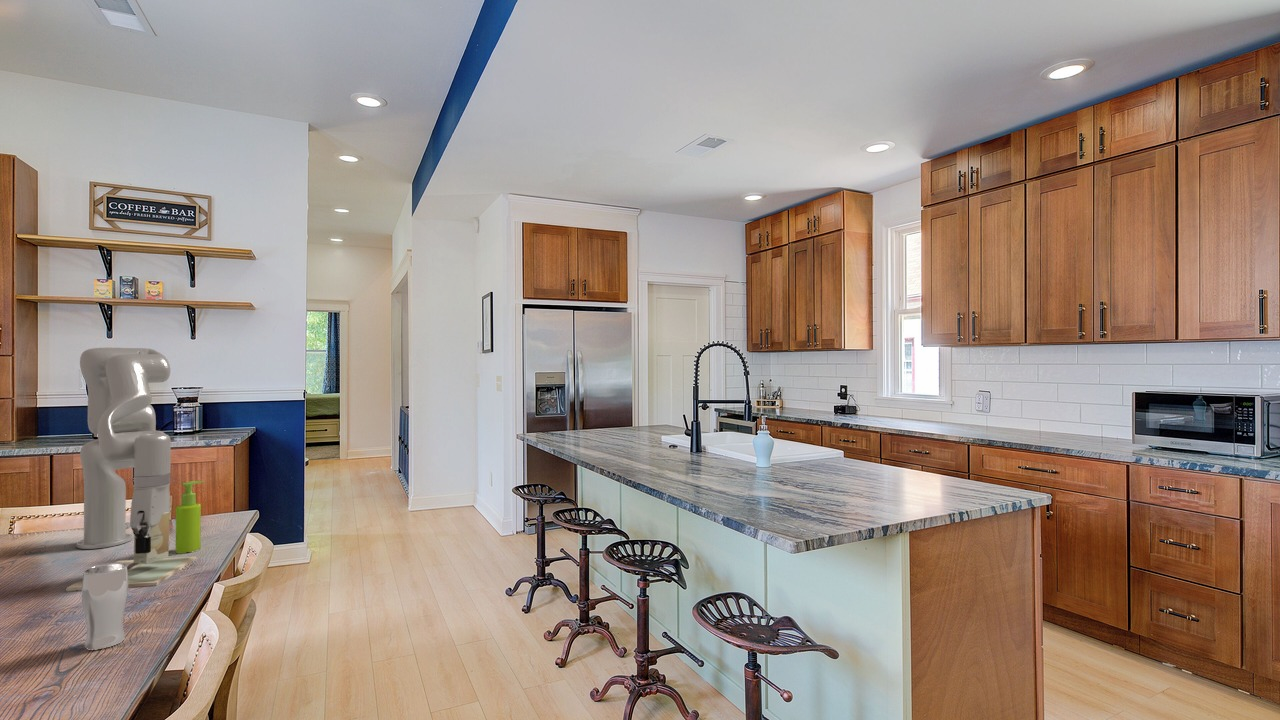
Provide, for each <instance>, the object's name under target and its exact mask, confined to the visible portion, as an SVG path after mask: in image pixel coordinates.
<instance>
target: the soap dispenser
mask: <svg viewBox="0 0 1280 720" xmlns="http://www.w3.org/2000/svg"><path fill="white" fill-rule="evenodd" d="M204 483H205V481H202V480H191V481H186V482H183V483H181V486H182V487H184V492H183V493H181V501H180V503H181V504H180V505H177V506H176V507H175V553H176V552H177V553H176V554H180V553H183V554H187V553H186V552H191V553H193V552H192V551H195V552H197V551H196V550H198V549H200V550H201V540H202V539H201V536H202V535H201V533H202V530H201V529H202V523H201V522H202V520H201V518H202V514H201V513H202V511H201V510H202V505H201V504H200V503H196V502H197V496H196V495H197V494H196V492H194V491H193V485H196V484H204ZM198 551H199V550H198Z"/></svg>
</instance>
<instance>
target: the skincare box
mask: <svg viewBox="0 0 1280 720" xmlns="http://www.w3.org/2000/svg"><path fill="white" fill-rule="evenodd" d="M147 524H148V522H145V523H143V524H142V525H147ZM143 530H144V531H146V528H145V529H143ZM149 537H151V552H149V553H140V554H136V553H135V538H134V537H133V538H134V539H133V541H134V542H133V560H134V563H142V564H148V563H151V562H154V561H158V560H161V559H164V558H169V552H170V549H169V548H170V547H169V544H170V543H169V542H170V516H169V512H165V513H164V514H162V517H161V519H160V522H159V523H158V524H156V525H154V526H152V527H151V531H150V534H149Z"/></svg>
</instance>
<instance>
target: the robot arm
mask: <svg viewBox="0 0 1280 720" xmlns="http://www.w3.org/2000/svg"><path fill="white" fill-rule="evenodd" d="M79 357H80V358H79V367H80V372H81V375H82V377H83V379H84V381H85V384H86V387H87V427H88V430H89V432H91V433H92V434H94V435H97V439H94V440H91V441H88V442H86V443H85V444H83V446H82V447H81V449H80V451H79V453H80V454H79V456H80V457H79V458H80V463H81V468H82V474H83V539H81V540H78V541H77V542H76V548H77V549H82V550H92V549H102V548H111V547H114V546H119V545H123V544H126V543H128V542H130V541H131V540H132V539H133V538H135V553H136V554H140V553H149V552H151V537H149V534H150V531H151V527H152V526H154V525H156V524H158V523H159V522H160V519H161V517H162V514H164V513H165V512H169V517H170V516H171V512H172V510H171V495H170V494H171V493H170V486H171V452H172V451H171V450H172V449H171V445H172V443H171V436H170V435H168V434H166V433H165V432H163V431H161V430H157V429H156V425H157V420H156V418H157V417H156V412H155V411H156V410H155V409H154V407H153V406H152V405H151V403H152V402H153V397H152V394H151V393H152V392H151V390H150V385H149V384H150V383H152V384H155V383H164V382H167V381H168V380H169V378H170V376H171V366H170V365H171V364H170V363H169V361H168V358H166V356H165V355H164V354H163V353H161V352H159V351H157V350H155V349H152V348H145V347H144V348H142V347H140V348H138V347H93V348H88V349H86V350H84V351H83V352H82V353H81V355H80V356H79ZM129 468H133V493H132V497H131V498H132V499H131V503H130V504H131V505H130V514H129V515H130V519H129V522H126V518H127V517H126V509H127V508H126V505H127V504H126V503H127V501H126V500H127V497H126V495H127V488H126V481H125V480H124V478H122V477H121V476H120V475H119V474H118V473H116V471H117V470H123V469H129ZM145 522H148V524H147V525H142V524H143V523H145ZM130 528H131V530H132V533H133V536H132V534H130V533H126V530H128V529H130ZM145 528H146V531H144V530H143V529H145Z"/></svg>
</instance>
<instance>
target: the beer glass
mask: <svg viewBox="0 0 1280 720" xmlns="http://www.w3.org/2000/svg"><path fill="white" fill-rule="evenodd" d="M82 574H83V576H82V579H83V581H82V590H81V603H82V609H83V613H84V617H85V621H86V636H85V637H86V638H85V640H84V641H85V642H84V645H83V648H84V647H85V648H88V649H101V648H106V647H110V646H113V645H116V644H118V643H120V642H122V641H123V640H124V639H125V640H126V636H125V632H124V623H123V622H124V621H123V620H124V615H125V614H124V613H125V609H126V605H127V601H128V594H129V587H128V571H127V564H126V563H115V562H108V563H104V564H98V565H95V566H94V565H93V566H91V567H89V568H86V569H84V570H83V572H82ZM125 640H124V641H125ZM124 641H123V642H124ZM123 642H122V643H123ZM120 644H121V643H120ZM118 645H119V644H118ZM116 646H117V645H116ZM113 647H114V646H113ZM85 648H84V649H85ZM110 648H111V647H110Z"/></svg>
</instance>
